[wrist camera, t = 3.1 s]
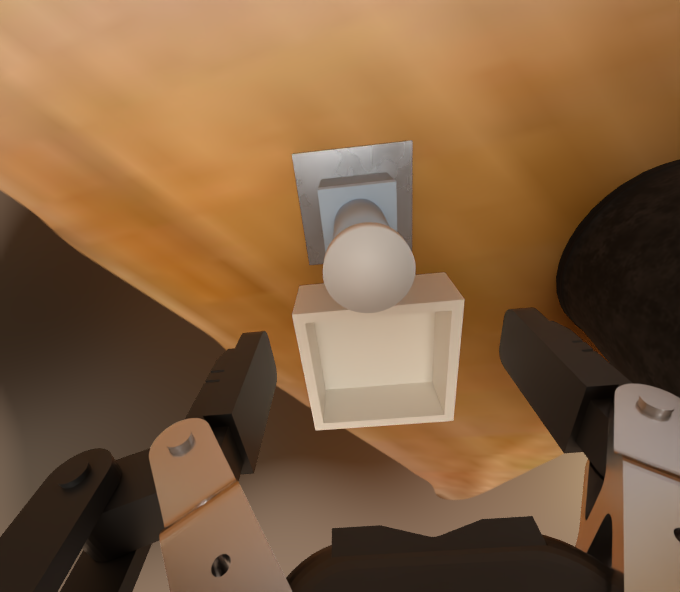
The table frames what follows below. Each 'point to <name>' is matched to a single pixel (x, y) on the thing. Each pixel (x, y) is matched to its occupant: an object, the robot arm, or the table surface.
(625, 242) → the bucket
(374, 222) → the knob
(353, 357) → the parts tray
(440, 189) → the table surface
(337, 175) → the stud mount
